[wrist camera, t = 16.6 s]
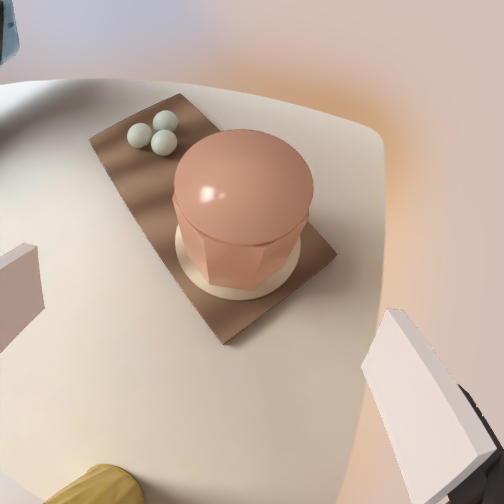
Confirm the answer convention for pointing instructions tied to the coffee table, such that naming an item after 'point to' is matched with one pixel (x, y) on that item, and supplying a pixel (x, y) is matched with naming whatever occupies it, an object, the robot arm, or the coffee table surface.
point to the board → (165, 220)
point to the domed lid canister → (241, 205)
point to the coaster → (232, 293)
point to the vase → (100, 488)
